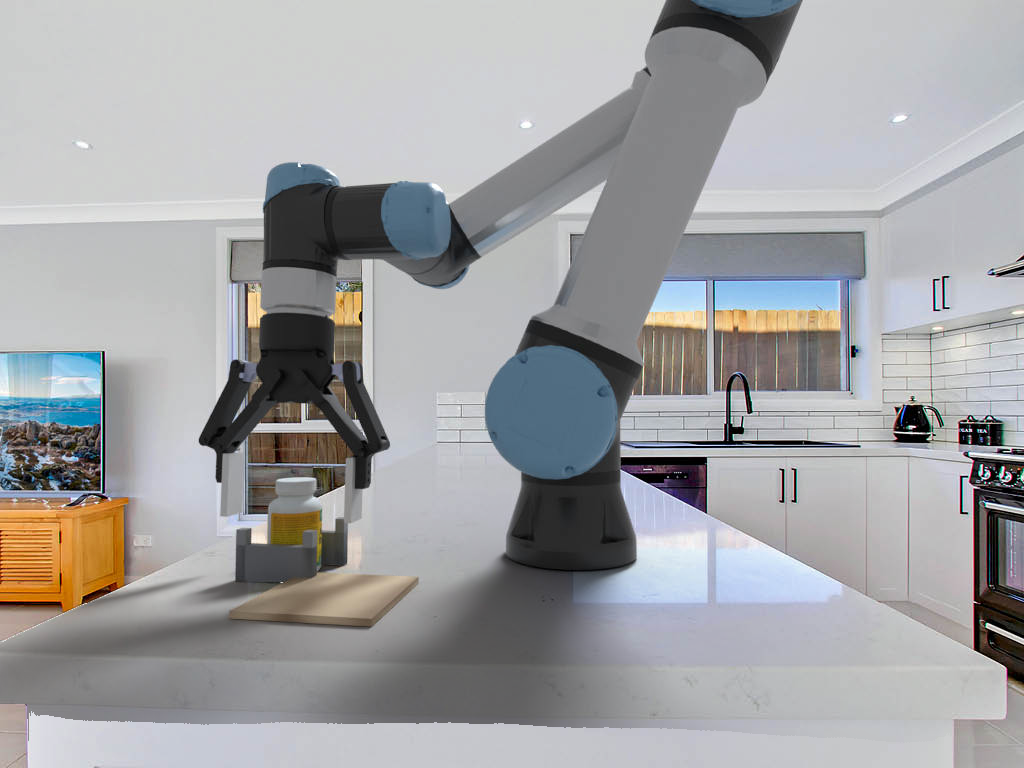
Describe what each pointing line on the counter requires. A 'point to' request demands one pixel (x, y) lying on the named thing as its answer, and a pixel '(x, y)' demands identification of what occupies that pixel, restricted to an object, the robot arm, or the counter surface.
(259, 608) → the square wooden board
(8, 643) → the counter surface
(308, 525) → the supplement bottle
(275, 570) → the holder
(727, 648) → the counter surface
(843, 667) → the counter surface
